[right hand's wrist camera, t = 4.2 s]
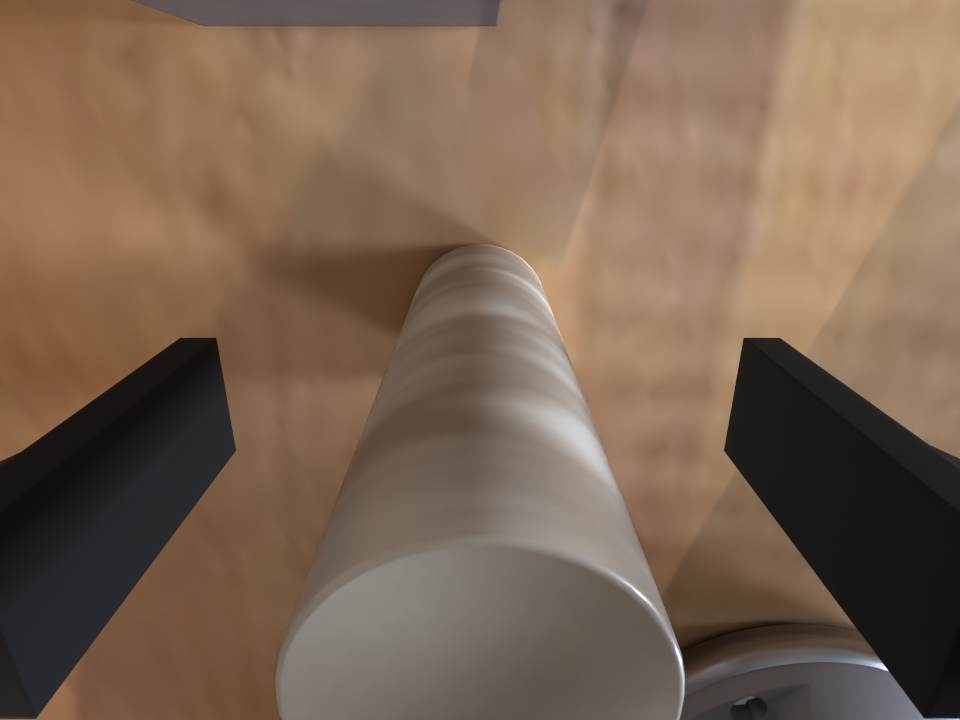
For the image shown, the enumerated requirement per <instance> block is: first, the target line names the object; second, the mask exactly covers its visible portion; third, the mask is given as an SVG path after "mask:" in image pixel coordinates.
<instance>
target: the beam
mask: <svg viewBox="0 0 960 720" xmlns="http://www.w3.org/2000/svg"><path fill="white" fill-rule="evenodd" d="M131 1H134V2H137V3H140V4H143V5H146V6H148V7H151V8H154V9H157V10H160V11H163V12H165V13H168V14H171V15H174V16H177V17H179V18H182V19H185V20H188V21H191V22H194V23H196V24H199V25H202V26H497V24H498V18H499V12H500V7H501V1H502V0H131Z"/></svg>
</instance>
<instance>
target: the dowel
mask: <svg viewBox="0 0 960 720" xmlns="http://www.w3.org/2000/svg"><path fill="white" fill-rule="evenodd" d="M684 690H685V671H684V665H683V659H682V653H681V651H680V648H679V645H678V642H677V639H676V636H675V634H674V631H673V628H672V626H671V623H670V621H669V618H668V615H667V613H666V610H665V607H664V605H663V602H662V600H661V597H660V594H659V592H658V589H657V587H656V584H655V581H654V579H653V576H652V573H651V571H650V568H649V566H648V563H647V560H646V558H645V555H644V552H643V550H642V547H641V545H640V542H639V539H638V537H637V534H636V531H635V529H634V526H633V524H632V521H631V518H630V516H629V513H628V510H627V508H626V505H625V503H624V500H623V497H622V495H621V492H620V490H619V487H618V484H617V482H616V479H615V476H614V474H613V471H612V469H611V466H610V463H609V461H608V458H607V455H606V453H605V450H604V448H603V445H602V442H601V440H600V437H599V434H598V432H597V429H596V427H595V424H594V421H593V419H592V416H591V413H590V411H589V408H588V406H587V403H586V400H585V398H584V395H583V393H582V390H581V387H580V385H579V382H578V379H577V377H576V374H575V372H574V369H573V366H572V364H571V361H570V358H569V356H568V353H567V351H566V348H565V345H564V343H563V340H562V337H561V335H560V332H559V330H558V327H557V324H556V322H555V319H554V316H553V314H552V311H551V309H550V306H549V303H548V301H547V298H546V296H545V293H544V290H543V288H542V285H541V282H540V281H539V279H538V277H537V275H536V273H535V272H534V271H533V269H532V268H531V267H530V266H529V265H528V264H527V263H526V262H525V261H524V260H523V259H522V258H520V257H519V256H518V255H516V254H514V253H513V252H511V251H509V250H507V249H504V248H501V247H498V246H494V245H488V244H473V245H466V246H462V247H458V248H456V249H453V250H451V251H449V252H447V253H445V254H444V255H442V256H441V257H440V258H438V259H437V260H436V261H435V262H434V263H433V264H432V265H431V266H430V267H429V268H428V269H427V271H426V272H425V273H424V275H423V277H422V278H421V280H420V283H419V285H418V287H417V290H416V293H415V295H414V298H413V300H412V303H411V306H410V308H409V311H408V314H407V316H406V319H405V321H404V324H403V327H402V329H401V332H400V335H399V337H398V340H397V342H396V345H395V348H394V350H393V353H392V355H391V358H390V361H389V363H388V366H387V369H386V371H385V374H384V376H383V379H382V382H381V384H380V387H379V390H378V392H377V395H376V397H375V400H374V403H373V405H372V408H371V410H370V413H369V416H368V418H367V421H366V424H365V426H364V429H363V431H362V434H361V437H360V439H359V442H358V444H357V447H356V450H355V452H354V455H353V458H352V460H351V463H350V465H349V468H348V471H347V473H346V476H345V479H344V481H343V484H342V486H341V489H340V492H339V494H338V497H337V499H336V502H335V505H334V507H333V510H332V513H331V515H330V518H329V520H328V523H327V526H326V528H325V531H324V534H323V536H322V539H321V541H320V544H319V547H318V549H317V552H316V554H315V557H314V560H313V562H312V565H311V568H310V570H309V573H308V575H307V578H306V581H305V583H304V586H303V588H302V591H301V594H300V596H299V599H298V602H297V604H296V607H295V609H294V612H293V615H292V617H291V620H290V623H289V625H288V628H287V630H286V633H285V636H284V638H283V641H282V643H281V646H280V649H279V654H278V658H277V663H276V668H275V693H276V700H277V707H278V713H279V716H280V719H281V720H679V719H680V715H681V710H682V706H683V701H684Z"/></svg>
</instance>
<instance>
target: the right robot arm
mask: <svg viewBox="0 0 960 720" xmlns="http://www.w3.org/2000/svg"><path fill="white" fill-rule="evenodd" d="M235 451H236V448H235V443H234V437H233V431H232V425H231V420H230V414H229V408H228V403H227V397H226V391H225V385H224V380H223V374H222V368H221V363H220V357H219V351H218V345H217V340H216V338H180V339H178V340H177V341H175V342H174V343H173V344H171V345H170V346H168V347H167V348H166V349H164V350H163V351H161V352H160V353H159V354H157V355H156V356H154V357H153V358H152V359H150V360H149V361H147V362H146V363H145V364H143V365H142V366H141V367H139V368H138V369H136V370H135V371H134V372H132V373H131V374H129V375H128V376H127V377H125V378H124V379H122V380H121V381H120V382H118V383H117V384H115V385H114V386H113V387H111V388H110V389H108V390H107V391H106V392H104V393H103V394H101V395H100V396H99V397H97V398H96V399H94V400H93V401H92V402H90V403H89V404H87V405H86V406H85V407H83V408H82V409H80V410H79V411H78V412H76V413H75V414H74V415H72V416H71V417H69V418H68V419H67V420H65V421H64V422H62V423H61V424H60V425H58V426H57V427H55V428H54V429H53V430H51V431H50V432H48V433H47V434H46V435H44V436H43V437H41V438H40V439H39V440H37V441H36V442H34V443H33V444H32V445H30V446H29V447H27V448H26V449H25V450H23V451H22V452H20V453H18V454H16V455H14V456H11V457H9V458H7V459H5V460H3V461H0V719H36V718H37V716H38V715H39V714H40V712H41V711H42V710H43V708H44V707H45V706H46V704H47V703H48V702H49V700H50V699H51V698H52V696H53V695H54V694H55V692H56V691H57V690H58V688H59V687H60V686H61V684H62V683H63V682H64V680H65V679H66V678H67V676H68V675H69V674H70V672H71V671H72V670H73V668H74V667H75V666H76V664H77V663H78V662H79V660H80V659H81V658H82V656H83V655H84V653H85V652H86V651H87V649H88V648H89V647H90V645H91V644H92V643H93V641H94V640H95V639H96V637H97V636H98V635H99V633H100V632H101V631H102V629H103V628H104V627H105V625H106V624H107V623H108V621H109V620H110V619H111V617H112V616H113V615H114V613H115V612H116V611H117V609H118V608H119V607H120V605H121V604H122V603H123V601H124V600H125V599H126V597H127V596H128V594H129V593H130V592H131V590H132V589H133V588H134V586H135V585H136V584H137V582H138V581H139V580H140V578H141V577H142V576H143V574H144V573H145V572H146V570H147V569H148V568H149V566H150V565H151V564H152V562H153V561H154V560H155V558H156V557H157V556H158V554H159V553H160V552H161V550H162V549H163V548H164V546H165V545H166V544H167V542H168V541H169V540H170V538H171V537H172V536H173V534H174V533H175V531H176V530H177V529H178V527H179V526H180V525H181V523H182V522H183V521H184V519H185V518H186V517H187V515H188V514H189V513H190V511H191V510H192V509H193V507H194V506H195V505H196V503H197V502H198V501H199V499H200V498H201V497H202V495H203V494H204V493H205V491H206V490H207V489H208V487H209V486H210V485H211V483H212V482H213V481H214V479H215V478H216V477H217V475H218V474H219V473H220V471H221V470H222V468H223V467H224V466H225V464H226V463H227V462H228V460H229V459H230V458H231V456H232V455H233V454H234V452H235ZM724 451H725V452H726V454H727V455H728V456H729V458H730V459H731V460H732V462H733V463H734V464H735V466H736V467H737V469H738V470H739V471H740V473H741V474H742V475H743V477H744V478H745V479H746V481H747V482H748V483H749V485H750V486H751V487H752V489H753V490H754V491H755V493H756V494H757V495H758V497H759V498H760V499H761V501H762V502H763V503H764V505H765V506H766V507H767V509H768V510H769V511H770V513H771V514H772V515H773V517H774V518H775V519H776V521H777V522H778V523H779V525H780V526H781V527H782V529H783V530H784V532H785V533H786V534H787V536H788V537H789V538H790V540H791V541H792V542H793V544H794V545H795V546H796V548H797V549H798V550H799V552H800V553H801V554H802V556H803V557H804V558H805V560H806V561H807V562H808V564H809V565H810V566H811V568H812V569H813V570H814V572H815V573H816V574H817V576H818V577H819V578H820V580H821V581H822V582H823V584H824V585H825V586H826V588H827V589H828V590H829V592H830V593H831V595H832V596H833V597H834V599H835V600H836V601H837V603H838V604H839V605H840V607H841V608H842V609H843V611H844V612H845V613H846V615H847V616H848V617H849V619H850V620H851V621H852V623H853V624H854V625H855V627H856V628H857V629H858V631H859V632H858V631H854V630H850V629H846V628H840V627H834V626H827V625H815V624H785V625H771V626H764V627H757V628H751V629H747V630H742V631H737V632H733V633H730V634H726V635H723V636H719V637H716V638H713V639H711V640H708V641H705V642H702V643H700V644H697V645H695V646H693V647H691V648H689V649H686V650H684V651H682V652H681V653H682V659H683V665H684V671H685V690H684V701H683V706H682V710H681V715H680V719H679V720H960V459H959V458H956V457H954V456H952V455H950V454H948V453H945V452H943V451H941V450H939V449H937V448H935V447H932V446H930V445H928V444H927V443H926V442H924V441H923V440H921V439H920V438H919V437H917V436H916V435H914V434H913V433H912V432H910V431H909V430H907V429H906V428H905V427H903V426H902V425H900V424H899V423H898V422H896V421H895V420H893V419H892V418H891V417H889V416H888V415H886V414H885V413H884V412H882V411H881V410H880V409H878V408H877V407H875V406H874V405H873V404H871V403H870V402H868V401H867V400H866V399H864V398H863V397H861V396H860V395H859V394H857V393H856V392H854V391H853V390H852V389H850V388H849V387H847V386H846V385H845V384H843V383H842V382H840V381H839V380H838V379H836V378H835V377H833V376H832V375H831V374H829V373H828V372H826V371H825V370H824V369H822V368H821V367H819V366H818V365H817V364H815V363H814V362H812V361H811V360H810V359H808V358H807V357H806V356H804V355H803V354H801V353H800V352H799V351H797V350H796V349H794V348H793V347H792V346H790V345H789V344H787V343H786V342H785V341H783V340H782V339H780V338H744V340H743V345H742V351H741V357H740V362H739V368H738V374H737V380H736V385H735V391H734V397H733V402H732V408H731V414H730V420H729V425H728V431H727V437H726V442H725V448H724Z"/></svg>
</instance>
